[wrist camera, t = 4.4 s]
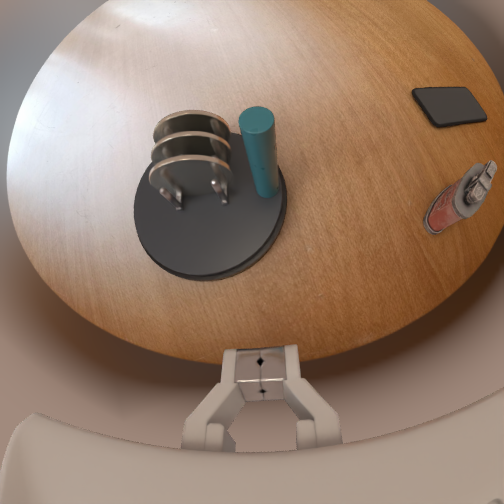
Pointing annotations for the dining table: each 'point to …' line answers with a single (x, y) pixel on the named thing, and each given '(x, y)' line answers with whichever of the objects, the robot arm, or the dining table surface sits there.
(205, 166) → the dish rack
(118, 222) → the dining table surface
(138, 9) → the dining table surface
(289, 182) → the dining table surface
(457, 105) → the smartphone
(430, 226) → the lighter
